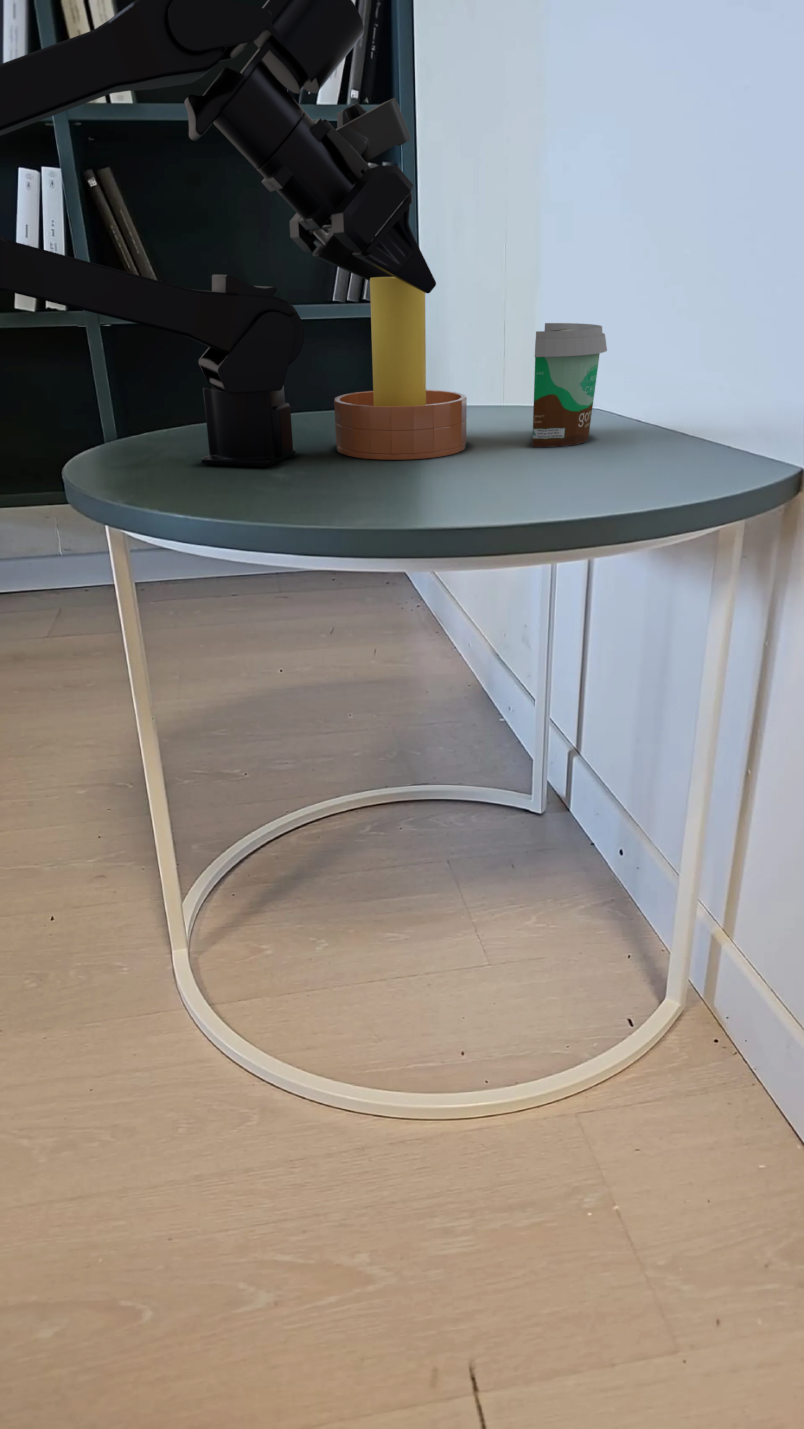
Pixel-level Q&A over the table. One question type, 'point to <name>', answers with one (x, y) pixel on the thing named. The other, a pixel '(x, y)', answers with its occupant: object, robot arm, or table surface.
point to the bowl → (400, 426)
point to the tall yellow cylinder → (398, 343)
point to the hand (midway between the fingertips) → (413, 287)
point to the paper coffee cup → (565, 382)
